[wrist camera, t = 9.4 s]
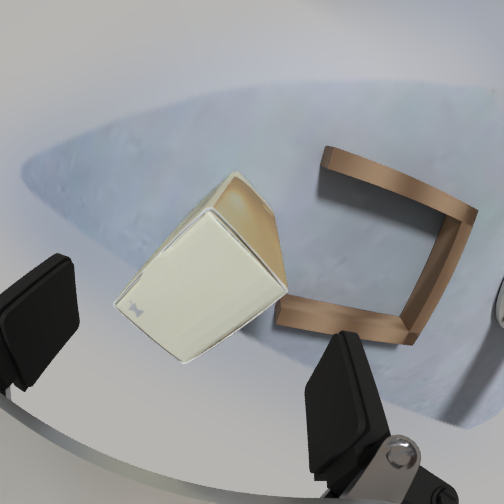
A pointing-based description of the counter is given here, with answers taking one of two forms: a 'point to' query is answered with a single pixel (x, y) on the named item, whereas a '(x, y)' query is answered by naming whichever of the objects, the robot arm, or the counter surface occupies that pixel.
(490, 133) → the counter surface
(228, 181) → the skincare box
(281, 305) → the open wooden u frame
